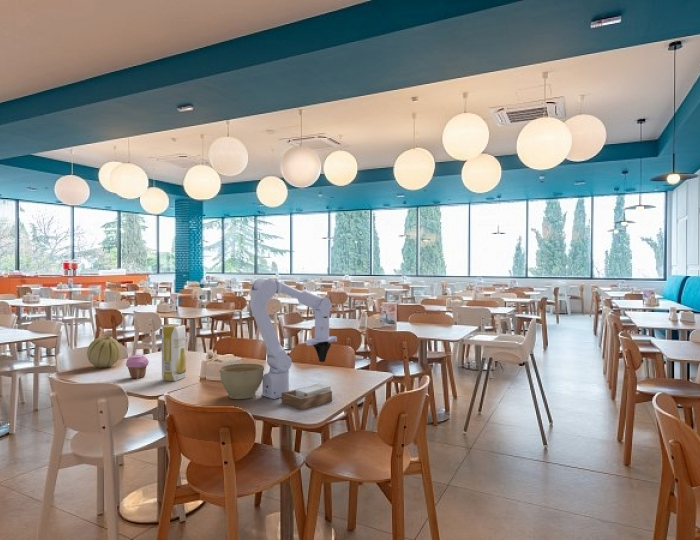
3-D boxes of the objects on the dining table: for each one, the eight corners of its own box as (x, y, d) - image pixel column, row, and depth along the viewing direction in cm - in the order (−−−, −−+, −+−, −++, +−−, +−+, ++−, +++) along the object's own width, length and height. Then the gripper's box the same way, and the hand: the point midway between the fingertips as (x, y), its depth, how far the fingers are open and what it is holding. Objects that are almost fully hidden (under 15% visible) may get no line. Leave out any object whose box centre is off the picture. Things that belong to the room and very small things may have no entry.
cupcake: (137, 380, 199) (137, 357, 199) (121, 379, 202) (121, 355, 202) (152, 376, 208) (152, 353, 208) (137, 374, 211) (136, 352, 210)
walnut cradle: (301, 409, 159) (301, 399, 159) (281, 403, 166) (281, 392, 166) (331, 401, 169) (331, 391, 168) (311, 395, 176) (311, 385, 176)
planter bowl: (273, 395, 176) (273, 366, 176) (236, 405, 164) (236, 374, 164) (247, 388, 187) (247, 360, 187) (211, 396, 175) (210, 367, 174)
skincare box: (319, 394, 175) (295, 402, 166) (319, 382, 175) (294, 389, 166) (331, 397, 171) (307, 405, 162) (331, 384, 171) (306, 392, 162)
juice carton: (176, 382, 197) (175, 324, 197) (159, 381, 198) (158, 324, 198) (188, 376, 206) (188, 322, 206) (171, 376, 207) (171, 321, 207)
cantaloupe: (98, 363, 234) (97, 333, 234) (127, 364, 233) (126, 333, 233) (79, 370, 219) (79, 338, 219) (110, 370, 218) (110, 338, 218)
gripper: (314, 330, 179) (314, 365, 179) (342, 326, 189) (342, 360, 189) (302, 328, 184) (302, 363, 184) (330, 324, 194) (330, 357, 194)
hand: (322, 361), depth 187 cm, fingers closed
